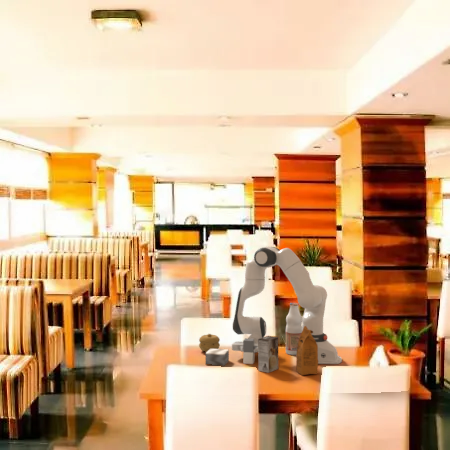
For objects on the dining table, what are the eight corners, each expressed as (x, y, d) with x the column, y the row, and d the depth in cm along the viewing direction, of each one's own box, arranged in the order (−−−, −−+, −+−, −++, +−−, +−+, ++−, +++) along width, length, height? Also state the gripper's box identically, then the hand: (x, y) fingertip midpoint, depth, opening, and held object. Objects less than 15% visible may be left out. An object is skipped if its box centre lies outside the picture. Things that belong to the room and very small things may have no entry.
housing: (254, 361, 295) (254, 338, 295) (252, 364, 290) (252, 341, 290) (245, 360, 296) (245, 338, 296) (243, 363, 291) (243, 340, 291)
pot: (223, 350, 318) (223, 333, 318) (212, 355, 308) (212, 337, 308) (206, 348, 324) (206, 330, 324) (194, 352, 315) (194, 334, 314)
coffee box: (268, 366, 285) (268, 335, 285) (278, 368, 281) (278, 337, 281) (257, 370, 278) (258, 338, 278) (268, 373, 274) (268, 340, 274)
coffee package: (313, 368, 282) (314, 325, 281) (319, 375, 269) (320, 330, 269) (294, 369, 281) (294, 325, 281) (299, 376, 269) (299, 330, 268)
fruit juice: (282, 353, 313) (282, 303, 312) (292, 350, 319) (293, 301, 319) (295, 356, 306) (295, 305, 305) (306, 353, 312) (306, 303, 312)
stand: (228, 360, 296) (228, 349, 296) (224, 365, 287) (224, 354, 287) (210, 359, 299) (210, 348, 299) (205, 364, 289) (205, 353, 289)
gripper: (234, 337, 308) (229, 343, 294) (271, 339, 303) (267, 345, 290) (234, 349, 308) (229, 355, 294) (271, 351, 303) (267, 357, 290)
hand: (248, 350), depth 292 cm, fingers closed on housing, 5 cm apart
